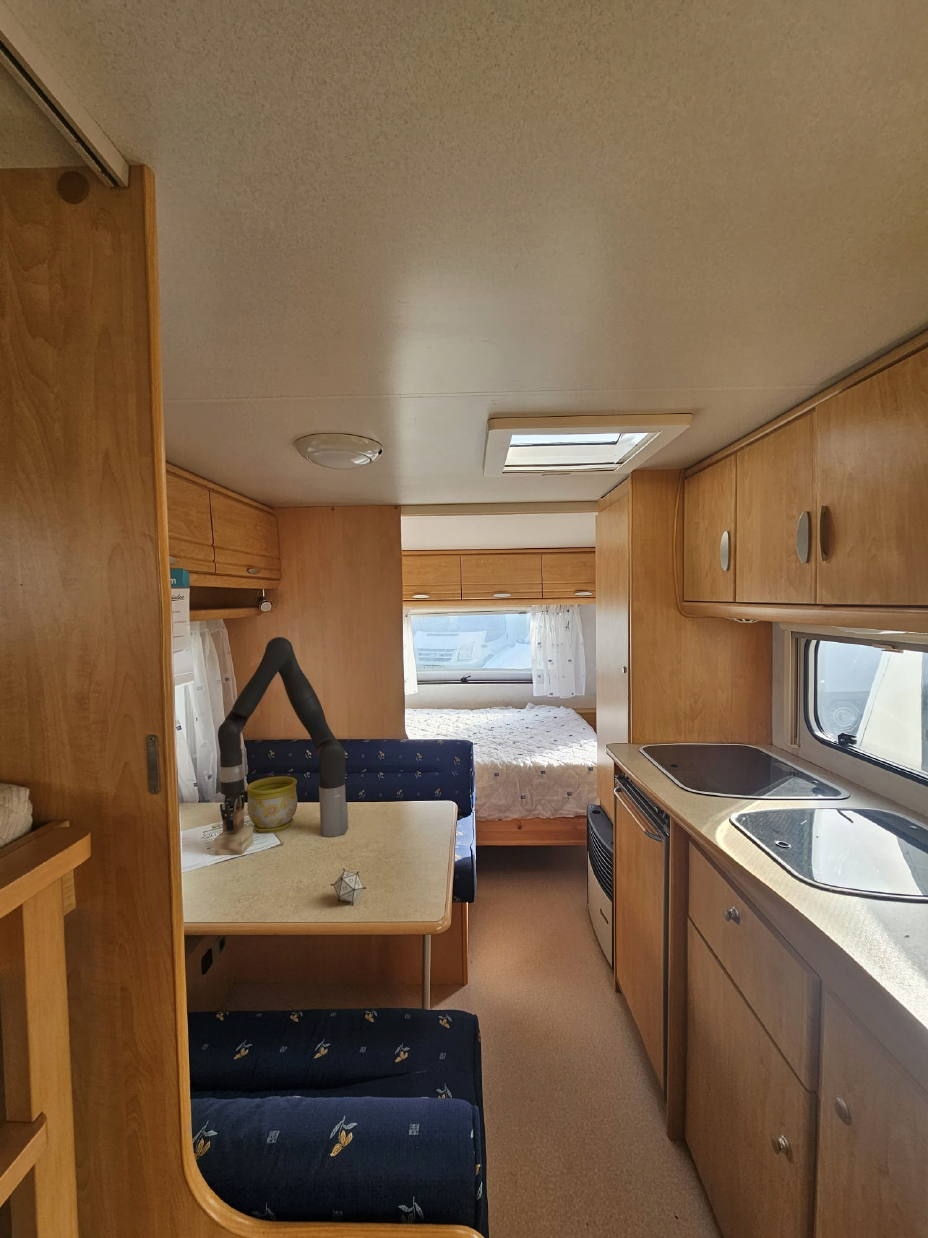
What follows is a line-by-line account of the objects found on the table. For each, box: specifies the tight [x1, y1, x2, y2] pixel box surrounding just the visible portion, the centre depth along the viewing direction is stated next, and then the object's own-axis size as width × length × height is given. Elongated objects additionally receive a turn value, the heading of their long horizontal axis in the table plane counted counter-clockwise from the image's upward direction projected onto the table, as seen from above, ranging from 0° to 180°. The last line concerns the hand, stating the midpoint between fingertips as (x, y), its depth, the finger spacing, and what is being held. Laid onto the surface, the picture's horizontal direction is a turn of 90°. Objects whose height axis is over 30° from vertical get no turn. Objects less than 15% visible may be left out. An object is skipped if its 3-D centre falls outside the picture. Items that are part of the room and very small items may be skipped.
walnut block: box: [222, 808, 245, 832], centre depth 179 cm, size 5×5×6 cm
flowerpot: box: [246, 775, 298, 834], centre depth 198 cm, size 18×18×16 cm
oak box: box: [214, 826, 254, 857], centre depth 179 cm, size 9×9×6 cm
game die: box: [329, 867, 367, 906], centre depth 143 cm, size 9×8×10 cm
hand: (233, 827), depth 179 cm, fingers closed on walnut block, 5 cm apart
